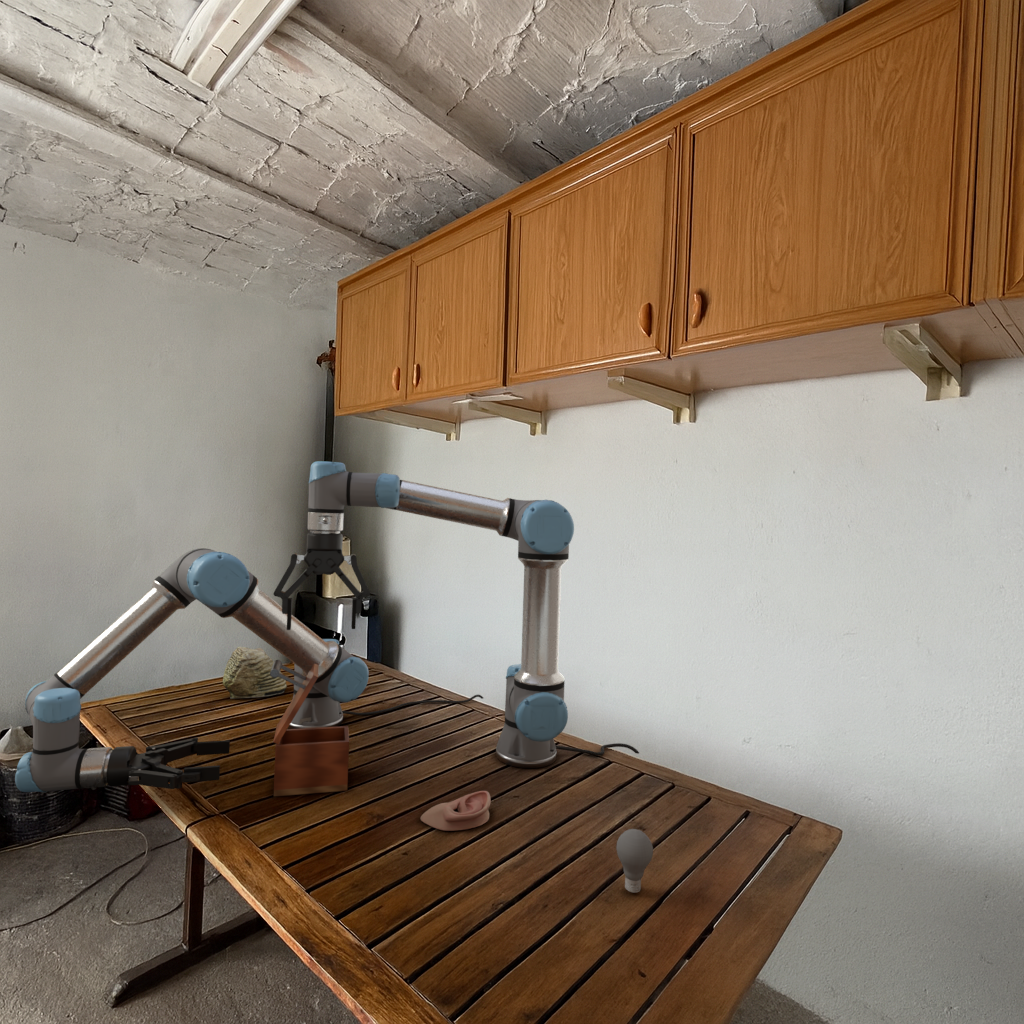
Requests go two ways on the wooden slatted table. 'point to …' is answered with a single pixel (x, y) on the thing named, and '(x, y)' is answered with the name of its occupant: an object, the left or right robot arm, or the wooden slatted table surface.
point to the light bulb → (634, 857)
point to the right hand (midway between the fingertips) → (321, 628)
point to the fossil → (251, 674)
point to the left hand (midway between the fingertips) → (224, 759)
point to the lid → (297, 699)
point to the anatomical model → (459, 812)
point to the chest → (312, 761)
